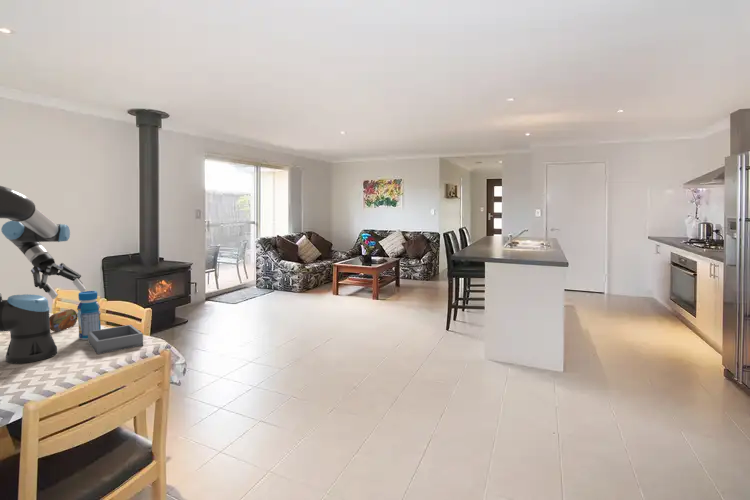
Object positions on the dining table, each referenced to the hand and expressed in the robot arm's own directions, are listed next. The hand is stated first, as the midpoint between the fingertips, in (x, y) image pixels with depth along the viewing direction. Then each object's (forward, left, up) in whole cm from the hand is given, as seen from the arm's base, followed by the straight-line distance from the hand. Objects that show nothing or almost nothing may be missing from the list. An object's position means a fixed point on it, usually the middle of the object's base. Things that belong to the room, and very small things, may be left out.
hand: (70, 293), depth 185 cm
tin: (+11, +11, -19) cm, 24 cm away
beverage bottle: (-3, -9, -19) cm, 21 cm away
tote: (-13, -25, -19) cm, 34 cm away
